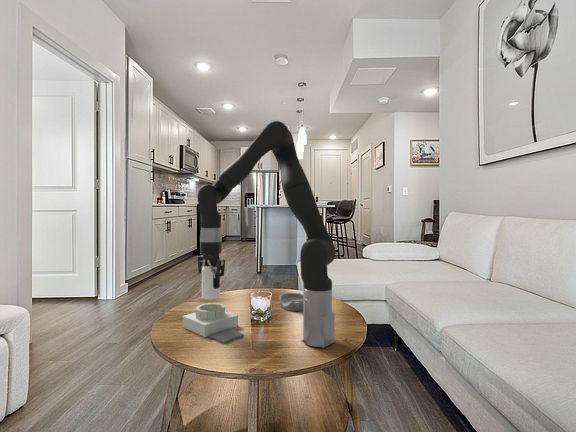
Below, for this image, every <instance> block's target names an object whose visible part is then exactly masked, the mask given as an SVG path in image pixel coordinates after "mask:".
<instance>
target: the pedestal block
mask: <svg viewBox="0 0 576 432" xmlns="http://www.w3.org/2000/svg"><path fill="white" fill-rule="evenodd" d="M237 327H239V315H238V314H236V313H233V312H230V311H228V310H226V305H225V304H222V303H219V302H218V303H217V302H211V303H208V302H207V303H202V304H200V305H197V306H196V307H195V312H191V313H189V314H186V315H182V328H183V329H186V330H188V331H190V332H192V333H195V334H197V335H199V336H201V337H203V338H207V337H209V335H210V334H213V333H216V332H219V331H222V330H225V329H228V328H229V329H234V328H237Z"/></svg>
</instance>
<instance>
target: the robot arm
mask: <svg viewBox="0 0 576 432" xmlns="http://www.w3.org/2000/svg"><path fill="white" fill-rule="evenodd" d="M270 151H271V152H272V154H273V155H274V157H275V160H276V162H277V164H278V167H279V170H280V181H281V188H282V192H283V194H284V197H285V201H286V204H287V206H288V208H289V209H290V211H291V212H292V214H293V215H294V217H295V218H296V219H297V220H298V222H299V223H300V225H301V226H302V227H303V229H304V232H305V234H306V238H307V240H306V241H305V242H304V243H303V244H302V245H301V249H300V260H299V261H300V277H301V281H302V283H303V285H302V286H303V291H302V292H303V294H302V295H303V311H302V319H303V321H302V324H303V327H302V330H303V333H302V335H303V336H302V337H303V338H302V341H303V342H302V343H304V344H306V345H307V346H311V347H315V348H326V347H328V346H330V345H332V344H334V343H335V342H336V341H335V335H336V333H335V331H336V329H335V325H336V324H335V321H336V319H335V318H336V317H335V316H336V315H335V312H334V311H333V281H332V279H331V278H330V277H329V275H328V265H330V264H331V263H333V262H334V260H335V258H336V247H335V243H334V242H333V240H332V238H331V235H330V234H329V232H328V230H327V227H326V225H325V224H324V221H323V219H322V216H321V213H320V209H319V207H318V205H317V204H318V203H317V201H316V198H315V197H314V193H313V190H312V187H311V185H310V181H309V180H308V178H307V175H306V173H305V170H304V169H303V167H302V165H301V162H300V161H299V158H298V155H297V150H296V146H295V141H294V138H293V134H292V132H291V130H289V128H288V126H287V125H286V124H285V123H284V122H281V121H279V120H275V121H271V122H269V123H268V124H267V125H266V126H265V127H264V128H263V129H262V130H261V132H259V134H258V135H257V136H256V138H255V139H254V140H253V141H252V142H251V144H250V145H248V147H246V149H245V150H244V151H243V152H242V153H241V154H240V156H239V157H237V158H236V159H235V160H234V161H233V162H231V164H229V165H228V166H227V167H226V168H225V169H223V170H222V172H221V173H220V174H219V175H218V180H216V182H215V183H213V184H203V185H201V187H200V188H199V189H198V193H197V203H198V209H199V213H200V233H199V234H200V235H199V244H200V245H199V250H200V251H199V253H200V254H201V255H202V256H198V257H197V268H198V270H197V271H198V273H199V274H200V275H201V276H202V268H203V265H204V266H210V269H211V272H213V288H214V289H217V288H219V287H220V288H221V278H222V277H224V276H225V267H226V260H225V259H220V258H221V257H220V254H221V253H222V247H223V246H222V243H223V242H222V235H223V234H222V217H221V216H222V215H221V213H220V212H219V210H218V205H219V204H221V202H223V201H224V200H225V199H227V197H228V196H229V195H230V193H232V191H233V189H235V188H236V187H238V186H239V185H240V184H241V183H242V182H244V181H245V179H246V178H248V177H249V175H250V174H251V173H252V171H253V170H254V168H255V167H256V166H257V164H258V162H260V160H261V159H262V157H264V156H265V155H266V154H267V153H269V152H270ZM213 267H217V269H213ZM215 271H217V272H216V273H215Z"/></svg>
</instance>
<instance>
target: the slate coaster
mask: <svg viewBox="0 0 576 432" xmlns="http://www.w3.org/2000/svg"><path fill="white" fill-rule="evenodd" d="M244 336H245V335H244V333H242V332H239V331H238V330H237V331H236V330H234V329H233V328H231V329H229V328H228V329H225V330H222V331H219V332H216V333H213V334H210V335H209V336H208V338H210V339H212V340H215V341H217V342H218V343H221V344H222V345H223V344H224V345H225V344H227V343H231V342H233V341H236V340H239V339H241V338H243V337H244Z"/></svg>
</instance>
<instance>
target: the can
mask: <svg viewBox="0 0 576 432" xmlns="http://www.w3.org/2000/svg"><path fill="white" fill-rule="evenodd" d="M213 269H217V267H213ZM201 270H202V275H201V298H202V300H204V301H215V300H218V299H220V297H221V286H220V287H219V288H217V289H214V288H213V272H211V269H210V266H204V265H203V268H202V267H201ZM216 272H217V271H215V273H216Z"/></svg>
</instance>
